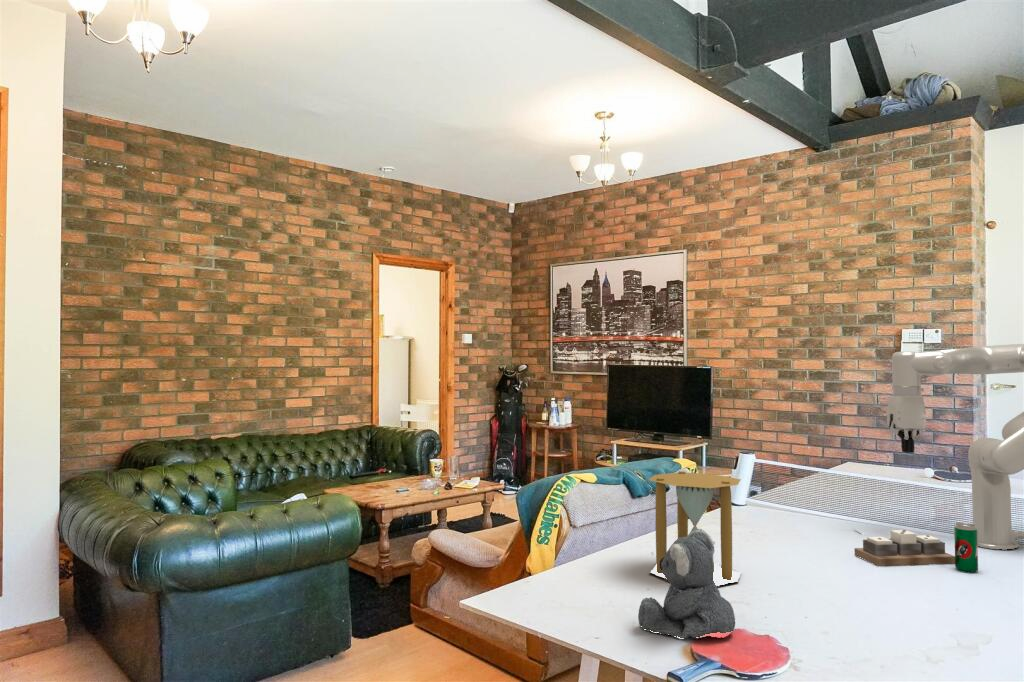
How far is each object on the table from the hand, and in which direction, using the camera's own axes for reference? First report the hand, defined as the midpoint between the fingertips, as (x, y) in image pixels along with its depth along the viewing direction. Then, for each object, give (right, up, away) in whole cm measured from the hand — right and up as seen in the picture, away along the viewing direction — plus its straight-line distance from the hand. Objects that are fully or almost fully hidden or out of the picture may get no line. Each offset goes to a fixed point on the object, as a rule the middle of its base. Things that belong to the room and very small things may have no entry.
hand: (907, 452), depth 211 cm
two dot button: (-5, -24, -18) cm, 31 cm away
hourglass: (-73, -27, -32) cm, 84 cm away
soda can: (-1, -27, -29) cm, 40 cm away
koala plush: (-83, -26, -68) cm, 111 cm away
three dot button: (-12, -23, -19) cm, 32 cm away
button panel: (-12, -27, -19) cm, 35 cm away
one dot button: (-19, -24, -20) cm, 37 cm away
